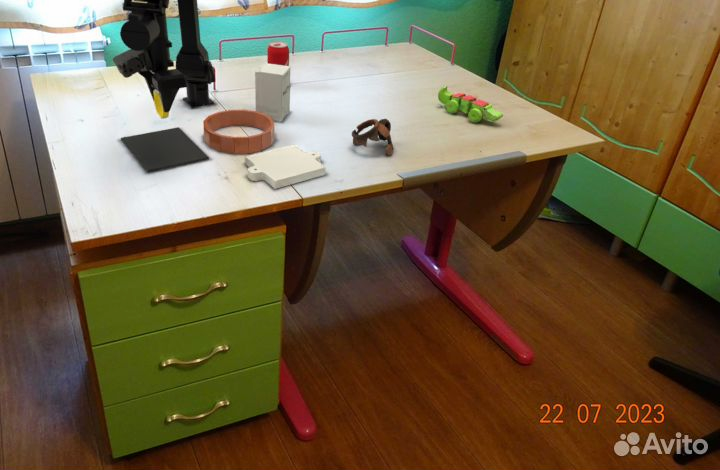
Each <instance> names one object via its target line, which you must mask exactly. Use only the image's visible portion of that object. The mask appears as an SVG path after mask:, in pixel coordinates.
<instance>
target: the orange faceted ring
mask: <svg viewBox="0 0 720 470" xmlns="http://www.w3.org/2000/svg"><path fill="white" fill-rule="evenodd" d="M202 122H203V123H202V124H203V125H202V126H203V139H204V141H203V142H204V143H205V144H206V145H207V146H208V147H209V148H210V149H213V150H214V151H218V152H220V153H227V154H234V155H238V154H241V155H242V154H245V155H246V154H252V153H253V154H254V153H259V152H261V151H264V150H265V149H268V148H269V147H271V146H273V145H272V144H273V143H275V140H276V139H275V133H276V132H275V121H273V119H271V118H270V117H269V116H268V115H266V114H263V113H260V112H257V111H256V110H251V109H250V110H249V109H227V110H221V111H217V112H214V113H211V114H210V115H208V116H206V118H205V119H204V120H203V121H202ZM233 126H235V127H237V126H245V127H252V128H256V129H260V130H262V131H263V132H260V133H257V134H252V135H247V136H232V135H226V134H221V133H218V132H216V130H219V129H222V128H226V127H227V128H228V127H233Z"/></svg>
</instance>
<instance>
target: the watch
mask: <svg viewBox="0 0 720 470" xmlns="http://www.w3.org/2000/svg"><path fill="white" fill-rule="evenodd" d="M153 92H154V101H153V102H154V108H155V110H156V114H158V116H159V117H160V119H167V118H169V115H170V111H169V112H164V110H163V107H162V103H161V99H160V96H159V92H158V91H157V90H156V89H155V90H154V91H153Z"/></svg>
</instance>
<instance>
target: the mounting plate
mask: <svg viewBox="0 0 720 470" xmlns="http://www.w3.org/2000/svg"><path fill="white" fill-rule="evenodd" d="M244 157H245V159H244V162H245V165H246V166H247V178H248V179H249V180H250V181H252V182H258V181H265V183H267V184H268V185H270V187H272V188H273V189H274V190H276V189H279V188H284V187H287V186H290V185H294V184H298V183H301V182H304V181H308V180H312V179H315V178H318V177H319V178H320V177H323V176H325V175H326V168H327V166H325V165H323V163H321V160H322V159H321V158H322V155H321V153H319V152H318V151H314V150H313V151H304V150H303V149H302V148H300V147H299V146H297V145H296V144H291V145H287V146H283V147H279V148H275V149H271V150H266V151H262V152H257V153H253V154H250V155H246V156H244Z"/></svg>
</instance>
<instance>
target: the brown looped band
mask: <svg viewBox="0 0 720 470" xmlns="http://www.w3.org/2000/svg"><path fill="white" fill-rule="evenodd" d="M369 127H371V128H370V129H369V130H367V131H365V132H363V133H362V131H364V130H365V129H367V128H369ZM356 129H357V130H356ZM356 129H353V130H352V131H351V136H352V145H354V146H363V147H365V148H367V147H368V145H367V144H368V140H369V141H373V142H377V143H378V142H380V141H382V142H386V143H387V146H386V147H385V151H386V155H387V156H388V157H389V156H390V155H392V154H393V152H394V144H393V140H392V137H391V129H392V124H391V121H390V120H389V119H388V118H382V119H379V120H378V119H376V118H370V119H367V120H365V121H362V122H361V123H360V124H358V125H356ZM360 133H361V134H360Z"/></svg>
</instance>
